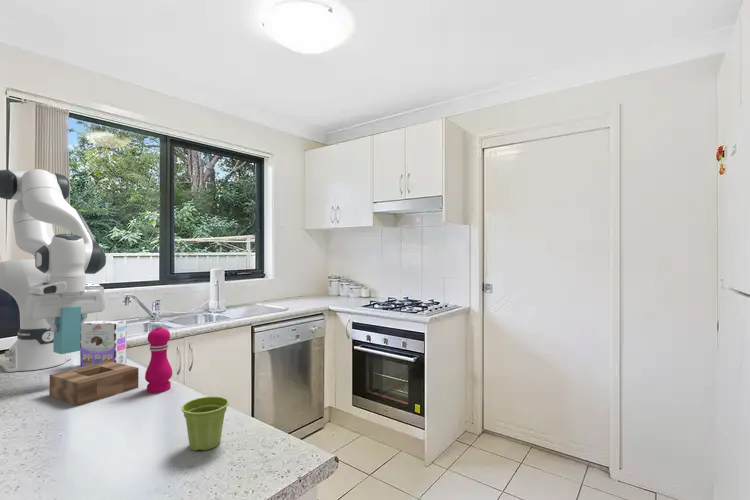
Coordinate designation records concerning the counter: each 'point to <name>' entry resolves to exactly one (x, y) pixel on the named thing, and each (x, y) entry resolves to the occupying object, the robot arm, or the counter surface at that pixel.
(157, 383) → the pepper mill
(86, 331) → the candy box
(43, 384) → the counter surface
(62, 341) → the teal rectangular block
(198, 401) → the plant pot
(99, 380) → the wooden holder
